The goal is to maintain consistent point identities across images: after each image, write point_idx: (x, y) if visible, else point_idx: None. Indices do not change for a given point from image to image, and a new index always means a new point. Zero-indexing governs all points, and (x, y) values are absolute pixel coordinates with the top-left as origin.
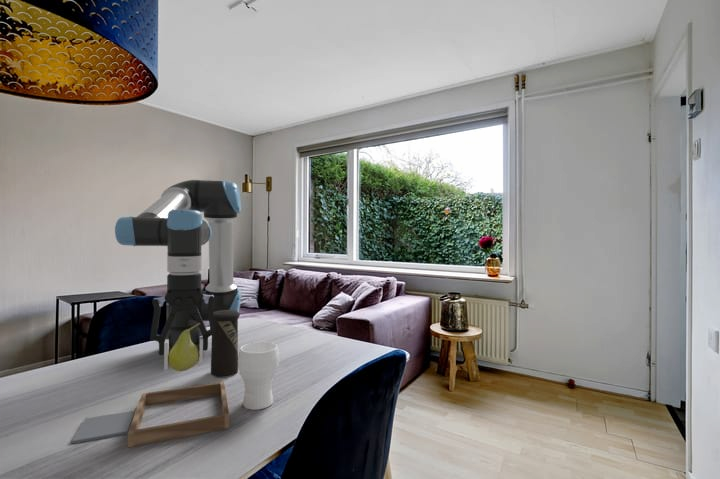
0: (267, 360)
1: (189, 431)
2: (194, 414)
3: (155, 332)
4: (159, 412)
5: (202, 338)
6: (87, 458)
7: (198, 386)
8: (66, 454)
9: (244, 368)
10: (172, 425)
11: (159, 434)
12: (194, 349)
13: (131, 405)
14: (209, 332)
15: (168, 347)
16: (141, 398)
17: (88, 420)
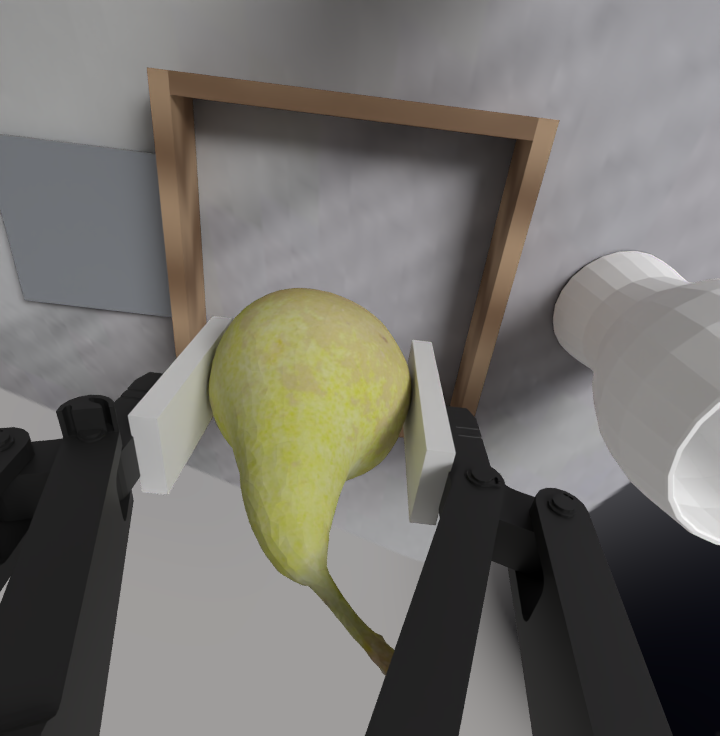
0: None
1: None
2: (379, 284)
3: (6, 566)
4: (257, 200)
5: (436, 508)
6: (111, 391)
7: (422, 119)
8: (46, 348)
9: (610, 451)
10: None
11: None
12: (370, 469)
13: (125, 50)
14: (503, 556)
15: (187, 396)
16: (159, 139)
17: (2, 162)
